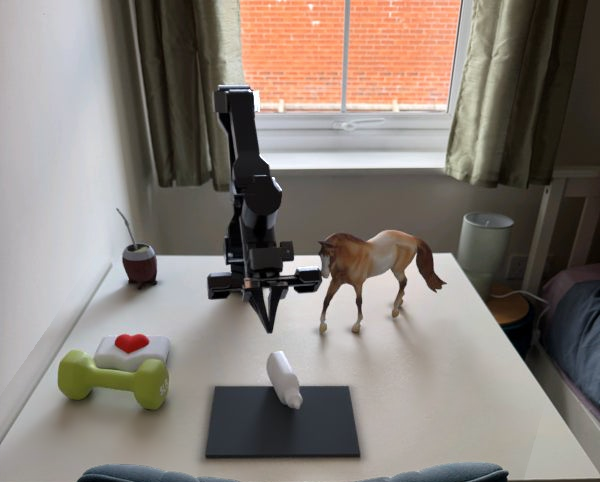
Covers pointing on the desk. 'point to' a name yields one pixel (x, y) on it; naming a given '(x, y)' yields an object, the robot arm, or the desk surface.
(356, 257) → the horse figurine
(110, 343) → the icon
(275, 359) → the eye dropper bottle
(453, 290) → the desk surface
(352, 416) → the mat
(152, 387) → the dumbbell
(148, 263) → the mate gourd
